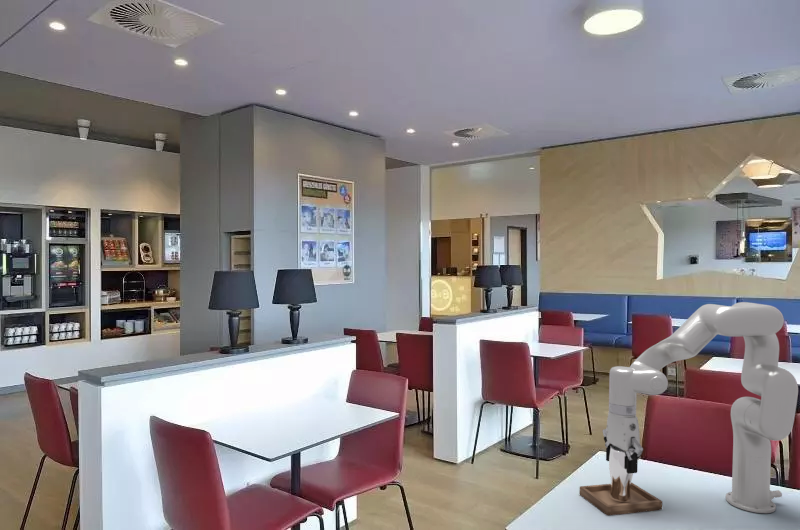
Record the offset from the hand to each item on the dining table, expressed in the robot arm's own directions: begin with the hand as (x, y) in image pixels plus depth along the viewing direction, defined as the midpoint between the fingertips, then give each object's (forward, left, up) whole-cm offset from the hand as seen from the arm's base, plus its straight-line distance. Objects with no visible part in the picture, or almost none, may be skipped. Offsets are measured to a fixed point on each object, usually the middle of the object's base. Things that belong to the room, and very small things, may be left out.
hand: (621, 466), depth 164 cm
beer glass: (0, 0, -10) cm, 10 cm away
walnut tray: (0, 0, -11) cm, 11 cm away
